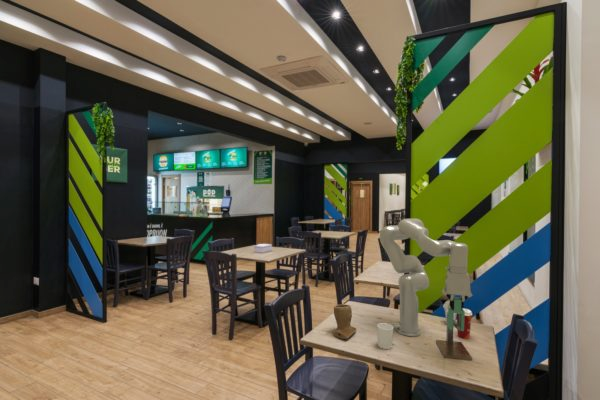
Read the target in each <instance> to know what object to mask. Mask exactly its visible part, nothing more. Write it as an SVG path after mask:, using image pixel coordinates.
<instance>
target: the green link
mask: <svg viewBox="0 0 600 400" xmlns="http://www.w3.org/2000/svg"><path fill="white" fill-rule="evenodd" d="M453 301H454V309H452V308H451V307H448V328H449V329H450V330H453V331H454V326H453V313H459V327H460V328H461V331H464V317H465V311H464V310H463V309H462V310H461V302H462V300H461V299H460V297H458V296H457V297H456V296H454V297H453Z"/></svg>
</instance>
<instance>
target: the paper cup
mask: <svg viewBox="0 0 600 400" xmlns="http://www.w3.org/2000/svg"><path fill="white" fill-rule="evenodd" d="M462 309H463V310H464V311H465V317H464V331H458V330H457V329H456V331H457V337H459V338H461V339H464V340H467V339H470V335H471V325H472V316H473V312H472V310H470V309H469V308H464V307H463V308H462ZM456 323H457V324H458V326H459V313H457V314H456Z"/></svg>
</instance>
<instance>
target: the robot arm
mask: <svg viewBox="0 0 600 400" xmlns="http://www.w3.org/2000/svg"><path fill="white" fill-rule="evenodd" d="M429 234H430V232H429V229H428V228H427V227H425V225H424V222H423V221H422V220H421V219H420V218H416V217H415V218H403V219H401V220H400V221H399V222H398V224H397V225H386V226H384V227H383V228H381V230H380V232H379V241H380V244H381V246H382V247H383V249H384V250H385V253H386V254H387V256H388V259H389V261H390V263H391V265H392V268H393V269H394V271H395V272H396V273H397V274H403V275H401V276H400V277H399V279H398V282H397V283H398V289H399V320H398V321H397V322H390V324H391V325H392V326H393V327H394V328H396V332H397V333H398V334H400V335H403V336H407V337H418V336H420V335H421V333H422V330H421V329H420V328H419V297H418V296H417V293H416V292H418V291H419V292H420V291H424V290H426V289H428V288H429V286H430V278H429V277H428V274H427V272H426V270H425V268H424V266H423V265H422V263H421V260H420V259H418V258H419V257H417V256H415V255H413V254H405V253H404V251H403V249H402V247H401V246H400V245H399V244H398V242H395V241H401V240H403V241H404V240H407V239H412V240H413V241H416V243H417V246H418V247H419V249H421V251H423V252H424V253H426V254H428V255H430V256H432V257H435V258H439V257H448V256H449V260H448V261H449V263H448V265H447V266H445V270H447V272H446V276H445V282H444V288H443V289H442V291H441V293H442V295H444V296H446V297H447V298H448V300H450V307H451V308H452V309H454V301H453V297H455V296H459V298H460V299H461V300H462V302H461V310H462V308H464V305H465V304H464V302H465V301H466V300H467V299H468V298H471V297H473V294H472V291H471V280H470V279H471V278H470V273H468V256H469V255H468V251H469V246H468V244H466V243H464V242H456V241H453V240H450V239H444V240H443V239H442V240H434V239H432V238H430V237H429Z"/></svg>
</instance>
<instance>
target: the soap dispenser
mask: <svg viewBox="0 0 600 400" xmlns="http://www.w3.org/2000/svg"><path fill="white" fill-rule="evenodd" d="M442 307H443V309H444V314H445V322H446V325H447V312H448V307H450V299H447V300H446V301H445V302H444V303H443V305H442ZM453 314H454V320H455V322H457V313H453ZM453 327H455V326H454V325H453Z"/></svg>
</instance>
